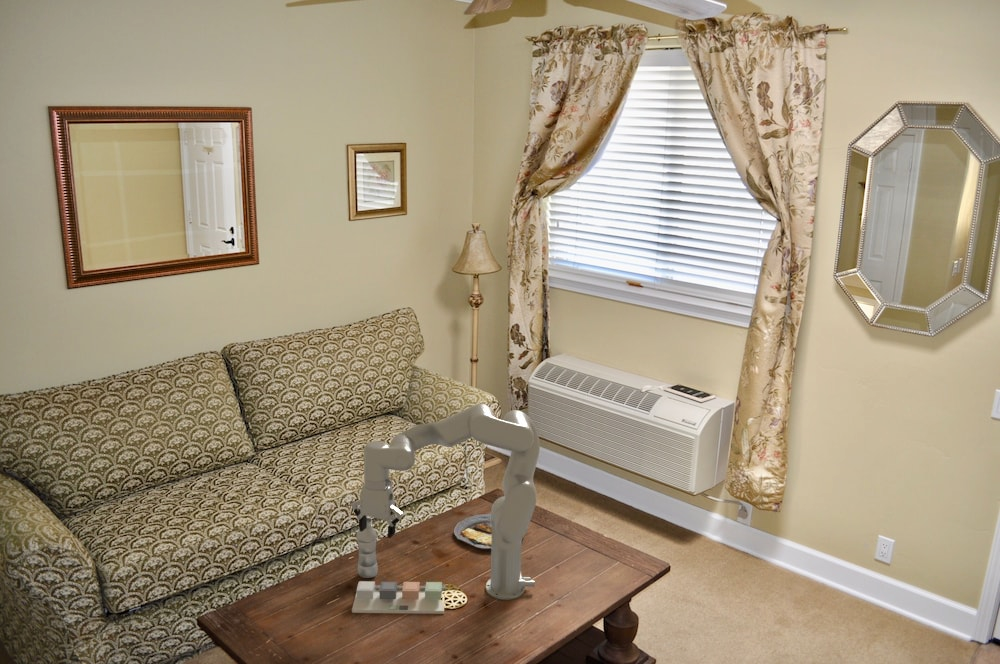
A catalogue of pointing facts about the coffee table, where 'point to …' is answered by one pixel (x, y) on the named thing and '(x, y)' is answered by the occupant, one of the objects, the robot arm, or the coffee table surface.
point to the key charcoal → (388, 590)
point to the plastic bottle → (367, 551)
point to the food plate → (475, 537)
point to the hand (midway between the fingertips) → (377, 532)
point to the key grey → (365, 589)
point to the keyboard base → (398, 604)
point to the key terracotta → (411, 590)
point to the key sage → (433, 591)
